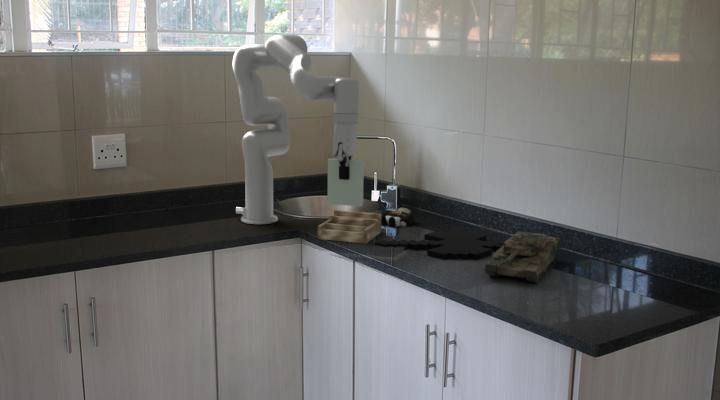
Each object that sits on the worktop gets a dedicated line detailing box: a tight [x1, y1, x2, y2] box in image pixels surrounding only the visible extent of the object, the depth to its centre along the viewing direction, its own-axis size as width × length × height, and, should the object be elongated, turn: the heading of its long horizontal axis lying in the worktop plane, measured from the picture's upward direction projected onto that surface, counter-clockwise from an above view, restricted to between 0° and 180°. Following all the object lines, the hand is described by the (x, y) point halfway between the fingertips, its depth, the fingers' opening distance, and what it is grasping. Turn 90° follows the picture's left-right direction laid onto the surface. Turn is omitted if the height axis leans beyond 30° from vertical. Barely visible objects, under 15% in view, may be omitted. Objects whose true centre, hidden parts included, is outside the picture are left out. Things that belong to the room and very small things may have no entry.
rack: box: [317, 209, 382, 244], centre depth 259 cm, size 16×16×7 cm
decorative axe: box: [374, 230, 504, 261], centre depth 251 cm, size 32×2×30 cm
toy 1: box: [380, 207, 415, 228], centre depth 279 cm, size 12×8×15 cm
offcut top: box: [338, 216, 366, 226], centre depth 259 cm, size 8×4×2 cm, turn 76°
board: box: [326, 158, 365, 207], centre depth 251 cm, size 11×2×14 cm, turn 72°
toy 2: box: [484, 230, 561, 284], centre depth 224 cm, size 13×37×10 cm, turn 154°
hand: (345, 178), depth 251 cm, fingers closed on board, 2 cm apart
